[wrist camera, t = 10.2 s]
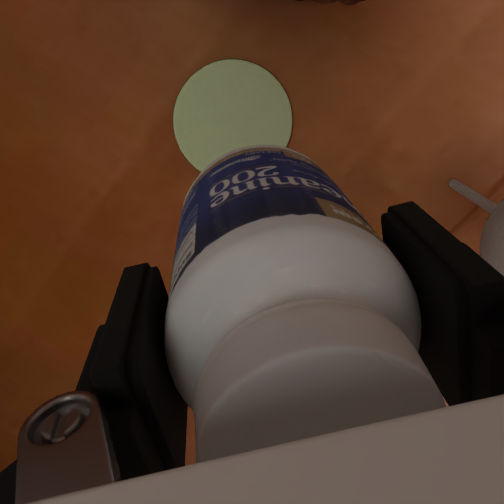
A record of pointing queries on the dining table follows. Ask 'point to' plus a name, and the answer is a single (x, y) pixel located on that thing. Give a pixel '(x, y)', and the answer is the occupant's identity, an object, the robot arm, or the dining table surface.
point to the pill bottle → (287, 309)
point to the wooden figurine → (345, 0)
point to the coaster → (230, 111)
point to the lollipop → (487, 226)
